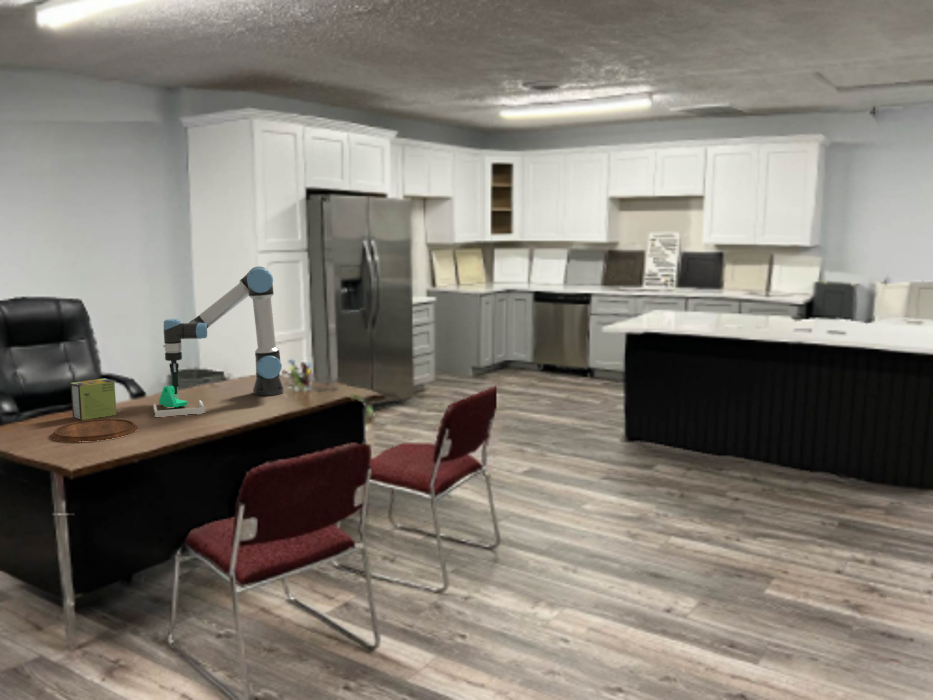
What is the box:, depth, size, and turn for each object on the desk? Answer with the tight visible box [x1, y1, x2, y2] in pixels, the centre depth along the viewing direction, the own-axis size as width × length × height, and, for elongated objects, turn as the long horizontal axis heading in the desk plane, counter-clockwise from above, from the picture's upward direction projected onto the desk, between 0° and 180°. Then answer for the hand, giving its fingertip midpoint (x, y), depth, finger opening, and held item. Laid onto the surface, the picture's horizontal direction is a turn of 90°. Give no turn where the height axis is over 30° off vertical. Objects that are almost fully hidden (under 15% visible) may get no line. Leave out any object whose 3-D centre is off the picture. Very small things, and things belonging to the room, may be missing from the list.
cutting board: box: [51, 418, 139, 443], centre depth 318 cm, size 32×32×2 cm
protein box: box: [69, 378, 117, 421], centre depth 346 cm, size 10×15×16 cm
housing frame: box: [152, 399, 206, 418], centre depth 355 cm, size 21×16×3 cm
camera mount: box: [158, 384, 189, 408], centre depth 365 cm, size 12×8×10 cm, turn 54°
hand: (175, 400), depth 373 cm, fingers closed
